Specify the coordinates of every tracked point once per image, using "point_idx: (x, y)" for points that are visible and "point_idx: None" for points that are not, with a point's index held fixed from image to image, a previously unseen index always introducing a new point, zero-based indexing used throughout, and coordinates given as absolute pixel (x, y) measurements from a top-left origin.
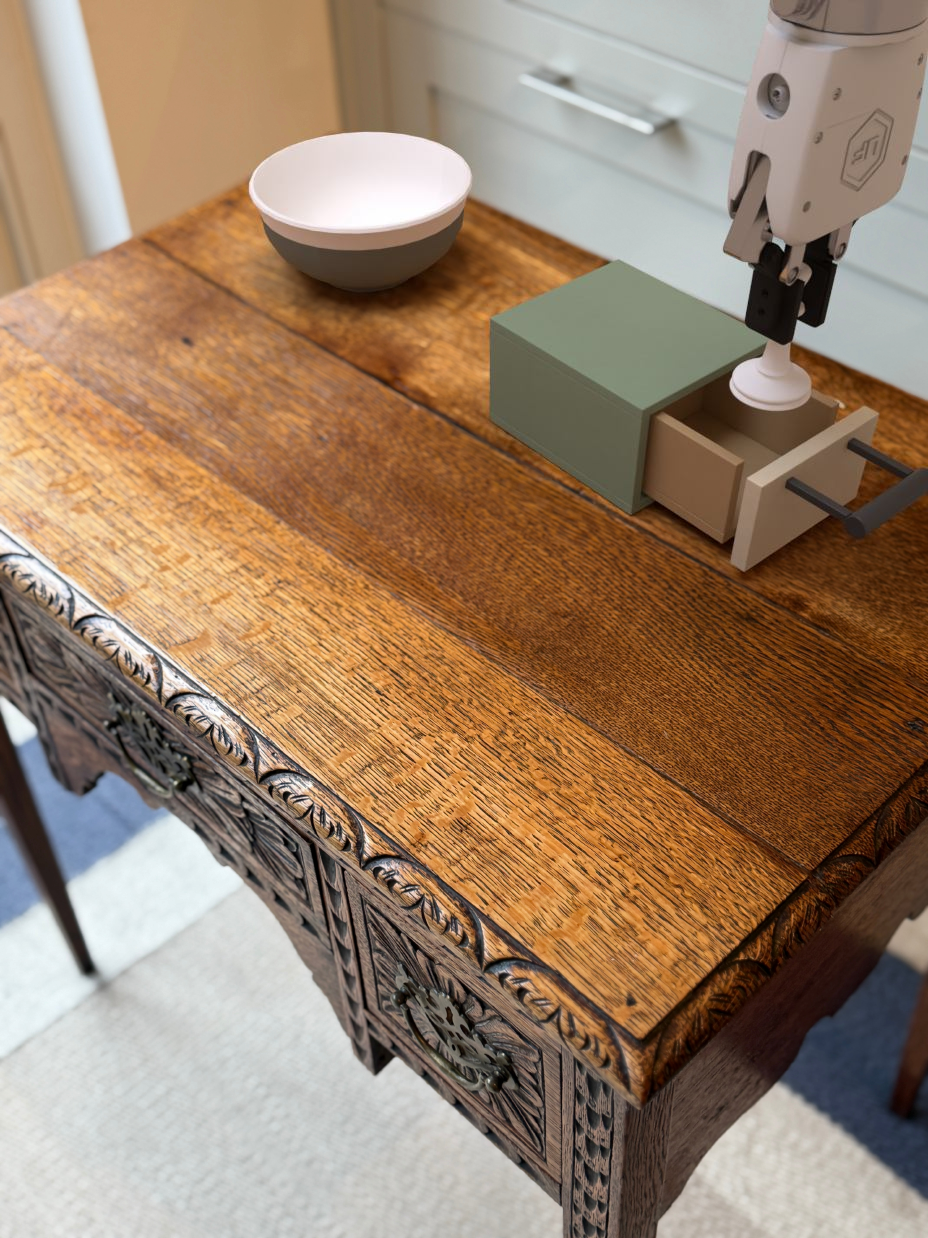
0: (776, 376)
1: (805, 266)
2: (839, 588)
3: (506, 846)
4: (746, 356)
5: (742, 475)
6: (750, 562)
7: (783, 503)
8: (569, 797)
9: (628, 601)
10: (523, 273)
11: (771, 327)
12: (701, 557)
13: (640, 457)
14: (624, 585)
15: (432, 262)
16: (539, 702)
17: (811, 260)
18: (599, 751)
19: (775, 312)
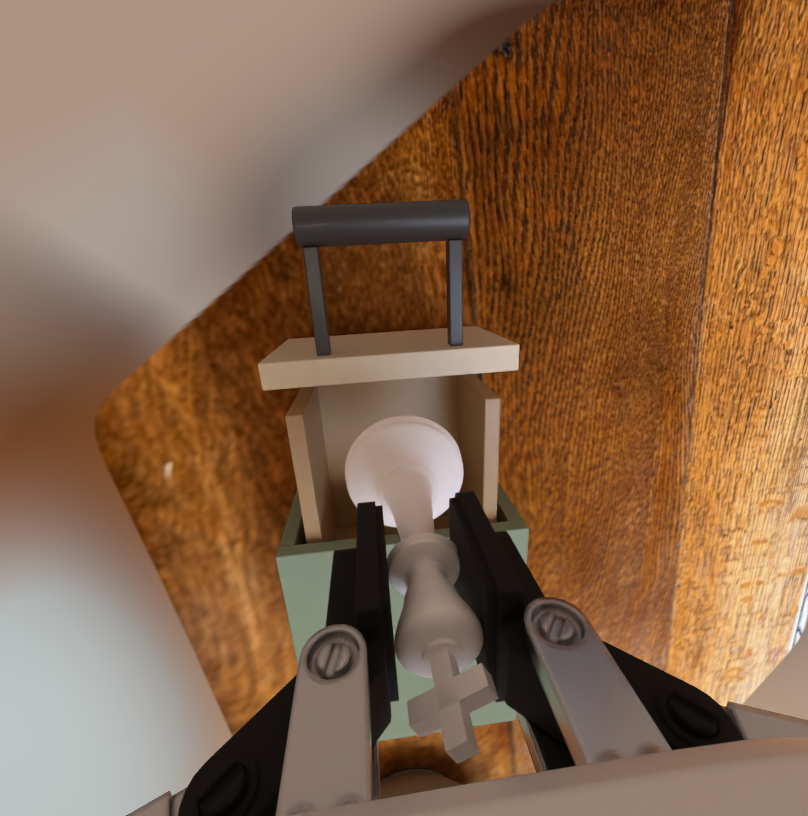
0: (428, 469)
1: (419, 641)
2: (401, 254)
3: None
4: (333, 546)
5: None
6: (471, 327)
7: (447, 339)
8: (777, 222)
9: (566, 369)
10: None
11: (503, 531)
12: None
13: (498, 488)
14: (553, 387)
15: (396, 790)
16: (708, 322)
17: (385, 653)
18: (723, 245)
19: (516, 554)
